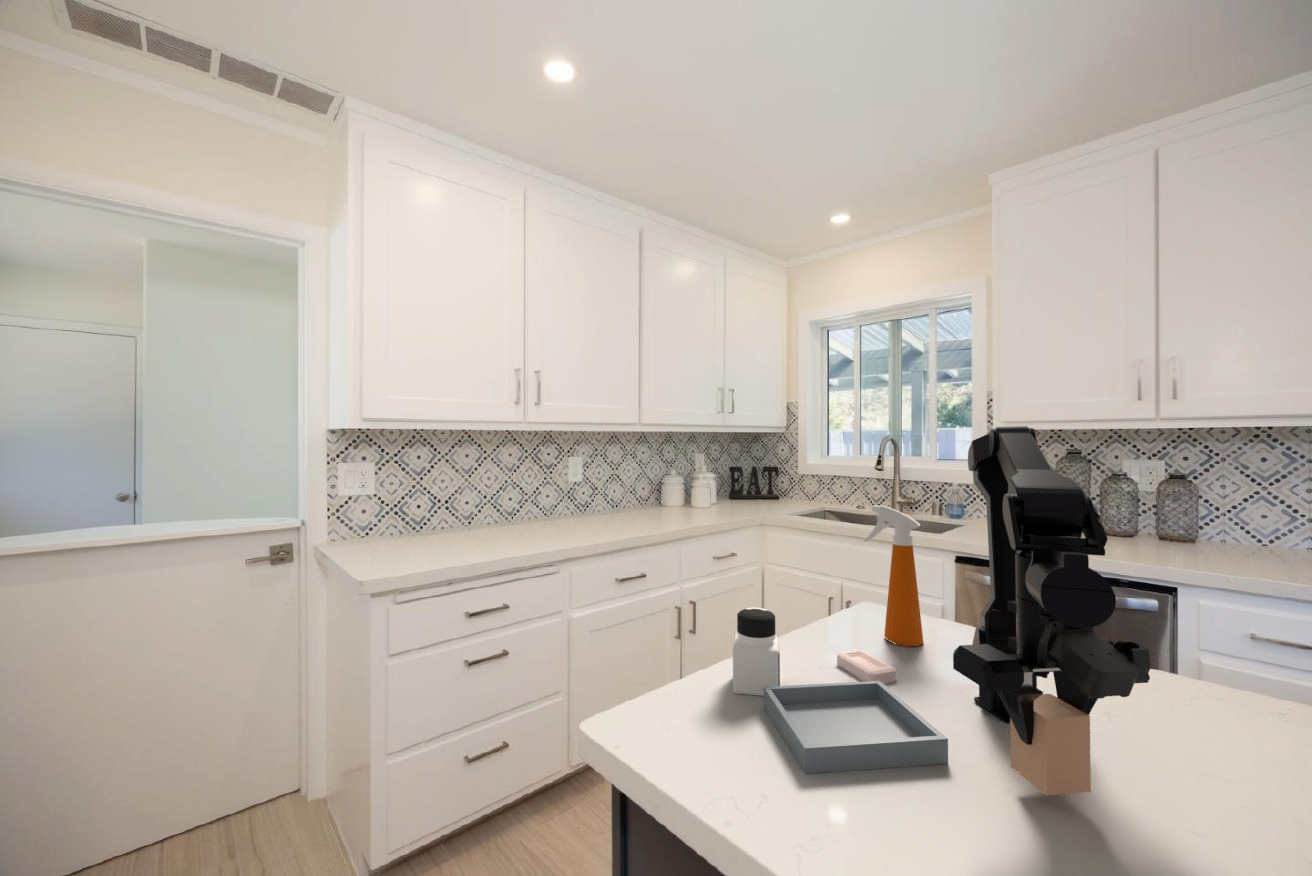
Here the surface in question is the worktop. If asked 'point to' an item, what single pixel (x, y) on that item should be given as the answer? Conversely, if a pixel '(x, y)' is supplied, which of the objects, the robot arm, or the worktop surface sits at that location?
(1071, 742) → the carton
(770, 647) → the medicine bottle
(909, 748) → the tray
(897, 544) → the spray bottle
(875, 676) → the soap bar
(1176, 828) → the worktop surface
